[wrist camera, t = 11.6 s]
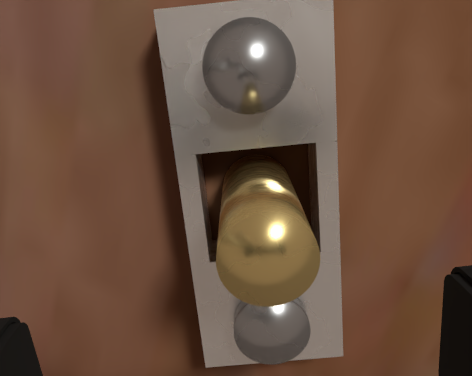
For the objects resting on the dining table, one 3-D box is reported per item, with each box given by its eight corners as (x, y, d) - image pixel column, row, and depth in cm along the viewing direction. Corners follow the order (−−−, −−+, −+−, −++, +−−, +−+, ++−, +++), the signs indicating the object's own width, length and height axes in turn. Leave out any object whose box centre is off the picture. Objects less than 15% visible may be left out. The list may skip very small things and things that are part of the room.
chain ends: (332, 326, 24) (348, 370, 21) (208, 336, 24) (204, 381, 21) (320, -2, 19) (338, -14, 16) (163, 15, 19) (148, 6, 16)
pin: (264, 230, 22) (279, 323, 15) (209, 195, 22) (195, 273, 14) (303, 179, 21) (341, 248, 14) (248, 141, 21) (255, 192, 13)
